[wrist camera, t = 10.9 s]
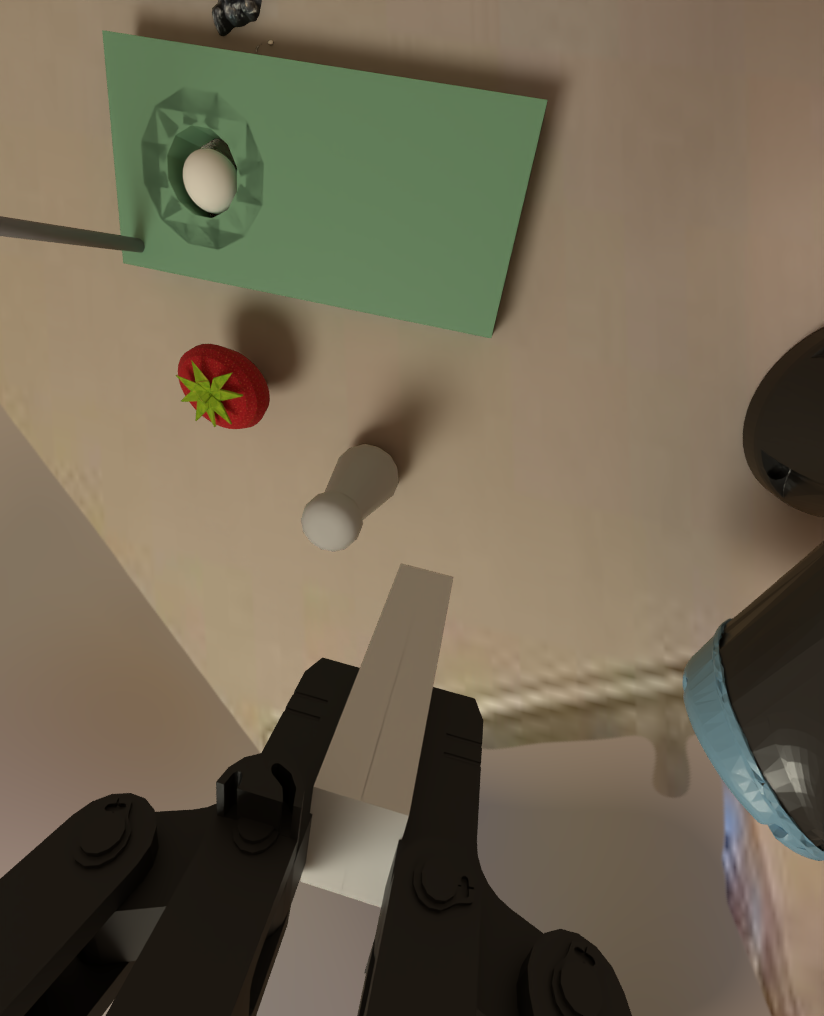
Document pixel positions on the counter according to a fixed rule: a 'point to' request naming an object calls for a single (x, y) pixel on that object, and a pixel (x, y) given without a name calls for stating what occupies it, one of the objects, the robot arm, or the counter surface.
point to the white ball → (210, 180)
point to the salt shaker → (350, 497)
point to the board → (317, 181)
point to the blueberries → (235, 14)
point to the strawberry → (223, 386)
